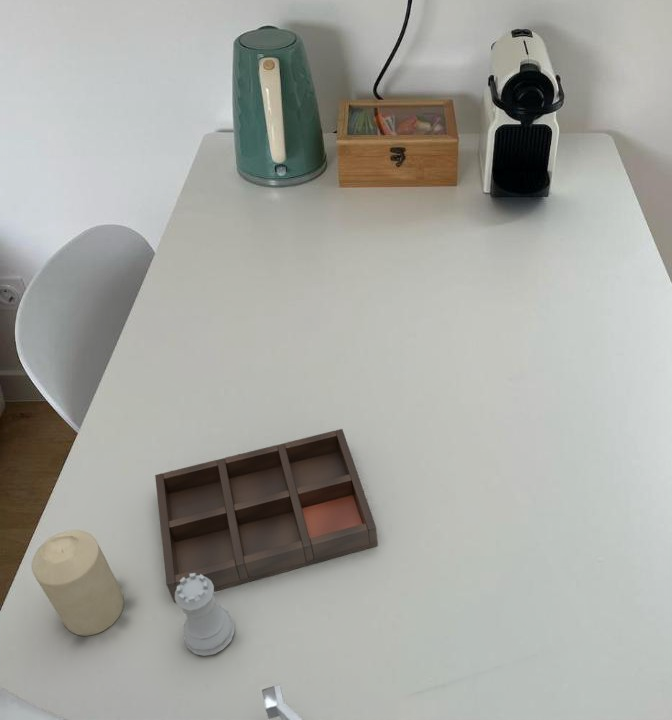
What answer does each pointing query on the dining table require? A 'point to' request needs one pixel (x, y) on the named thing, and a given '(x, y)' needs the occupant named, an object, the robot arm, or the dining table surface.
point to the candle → (78, 582)
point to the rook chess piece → (203, 616)
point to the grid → (263, 512)
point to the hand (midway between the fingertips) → (211, 708)
